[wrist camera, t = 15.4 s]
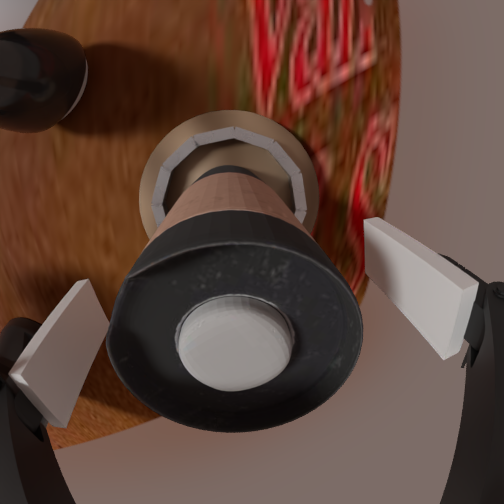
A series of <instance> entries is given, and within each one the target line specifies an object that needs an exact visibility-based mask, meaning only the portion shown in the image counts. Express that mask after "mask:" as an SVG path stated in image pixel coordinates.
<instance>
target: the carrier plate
mask: <svg viewBox="0 0 504 504" xmlns="http://www.w3.org/2000/svg"><path fill="white" fill-rule="evenodd" d="M223 165H234V166H239V167H242V168H245V169H247V170H249V171H250V172H252V173H253V174H255V175H256V176H257V177H258V178H260V179H261V180H262V181H263V182H265V183H266V184H267V185H268V186H269V187H270V188H272V189H273V190H274V191H275V192H276V194H277V195H278V196H279V197H280V198H281V199H282V201H283V202H284V203H285V204H286V205H287V207H288V208H289V209H290V210H291V211H292V213H293V214H294V215H295V216H296V218H297V219H298V220H299V221H300V222H301V224H302V225H303V226H304V227H305V229H306V230H307V231H308V232H309V234H311V232H312V230H313V227H314V224H315V221H316V218H317V213H318V207H319V186H318V181H317V176H316V172H315V169H314V167H313V164H312V162H311V160H310V158H309V156H308V154H307V152H306V151H305V149H304V148H303V146H302V145H301V144H300V142H299V141H298V140H297V139H296V138H295V137H294V136H293V135H292V134H291V133H290V132H289V131H287V130H286V129H285V128H284V127H283V126H281V125H279V124H278V123H276V122H274V121H273V120H271V119H268V118H266V117H264V116H261V115H258V114H255V113H251V112H247V111H239V110H221V111H214V112H209V113H205V114H202V115H198V116H196V117H194V118H191V119H189V120H187V121H185V122H184V123H182V124H180V125H179V126H177V127H176V128H174V129H173V130H172V131H171V132H170V133H169V134H167V135H166V136H165V137H164V138H163V140H162V141H161V142H160V143H159V144H158V145H157V147H156V148H155V150H154V151H153V153H152V154H151V156H150V158H149V160H148V162H147V164H146V166H145V169H144V172H143V175H142V178H141V184H140V191H139V205H140V214H141V218H142V222H143V225H144V228H145V231H146V233H147V235H148V237H149V239H151V238H152V236H153V235H154V233H155V232H156V230H157V229H158V227H159V226H160V224H161V223H162V221H163V220H164V219H165V217H166V216H167V214H168V213H169V211H170V210H171V209H172V207H173V206H174V204H175V203H176V202H177V200H178V199H179V197H180V196H181V195H182V194H183V192H184V191H185V190H186V189H187V188H189V187H190V186H191V185H192V184H193V183H194V182H195V181H196V180H197V179H198V178H199V177H200V176H201V175H202V174H204V173H205V172H207V171H208V170H210V169H212V168H215V167H218V166H223Z"/></svg>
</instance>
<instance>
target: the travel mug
mask: <svg viewBox="0 0 504 504" xmlns="http://www.w3.org/2000/svg"><path fill="white" fill-rule="evenodd" d="M362 341H363V323H362V315H361V311H360V308H359V305H358V302H357V299H356V297H355V295H354V294H353V292H352V290H351V288H350V286H349V284H348V283H347V281H346V280H345V279H344V277H343V276H342V275H341V273H340V272H339V271H338V269H337V268H336V267H335V265H334V264H333V263H332V262H331V260H330V259H329V258H328V256H327V255H326V254H325V253H324V251H323V250H322V249H321V247H320V246H319V245H318V244H317V242H316V241H315V240H314V239H313V237H312V236H311V235H310V234H309V232H308V231H307V230H306V229H305V227H304V226H303V225H302V224H301V222H300V221H299V220H298V219H297V218H296V216H295V215H294V214H293V213H292V211H291V210H290V209H289V208H288V207H287V205H286V204H285V203H284V202H283V201H282V199H281V198H280V197H279V196H278V195H277V194H276V192H275V191H274V190H273V189H272V188H270V187H269V186H268V185H267V184H266V183H265V182H263V181H262V180H261V179H260V178H258V177H257V176H256V175H255V174H253V173H252V172H250V171H249V170H247V169H245V168H242V167H239V166H234V165H223V166H218V167H215V168H212V169H210V170H208V171H207V172H205V173H204V174H202V175H201V176H200V177H199V178H198V179H197V180H196V181H195V182H194V183H193V184H192V185H191V186H190V187H189V188H187V189H186V190H185V191H184V192H183V194H182V195H181V196H180V197H179V199H178V200H177V202H176V203H175V204H174V206H173V207H172V209H171V210H170V211H169V213H168V214H167V216H166V217H165V219H164V220H163V221H162V223H161V224H160V226H159V227H158V229H157V230H156V232H155V233H154V235H153V236H152V238H151V239H150V241H149V242H148V244H147V245H146V247H145V248H144V250H143V252H142V253H141V255H140V256H139V258H138V259H137V261H136V262H135V264H134V266H133V267H132V269H131V271H130V272H129V273H128V274H127V276H126V277H125V279H124V282H123V284H122V285H121V288H120V290H119V292H118V295H117V297H116V300H115V304H114V308H113V311H112V316H111V320H110V324H109V327H108V331H107V336H106V348H107V352H108V356H109V358H110V361H111V363H112V366H113V368H114V370H115V371H116V373H117V375H118V377H119V378H120V380H121V381H122V383H123V384H124V385H125V387H126V388H127V389H128V390H129V391H130V392H131V393H132V394H133V395H134V396H135V397H136V398H137V399H138V400H139V401H140V402H142V403H143V404H144V405H145V406H147V407H148V408H150V409H151V410H153V411H154V412H156V413H158V414H160V415H161V416H163V417H165V418H167V419H170V420H172V421H174V422H177V423H179V424H183V425H186V426H189V427H193V428H197V429H202V430H207V431H213V432H226V433H229V432H230V433H232V432H233V433H235V432H251V431H258V430H264V429H268V428H272V427H276V426H279V425H283V424H285V423H288V422H291V421H293V420H296V419H298V418H300V417H302V416H304V415H306V414H308V413H309V412H311V411H313V410H315V409H316V408H317V407H319V406H320V405H322V404H323V403H325V402H326V401H327V400H328V399H329V398H330V397H332V396H333V395H334V394H335V393H336V392H337V390H338V389H340V387H341V386H342V385H343V384H344V383H345V381H346V380H347V378H348V377H349V376H350V374H351V372H352V371H353V369H354V367H355V365H356V363H357V360H358V357H359V355H360V351H361V346H362Z"/></svg>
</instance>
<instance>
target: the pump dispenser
mask: <svg viewBox="0 0 504 504" xmlns="http://www.w3.org/2000/svg"><path fill="white" fill-rule="evenodd" d="M87 77H88V65H87V60H86V57H85V52H84V49H83V47H82V45H81V44H80V43H79V41H78V40H76V39H75V38H74V37H72V36H70V35H68V34H66V33H63V32H59V31H54V30H49V29H41V28H21V29H12V30H6V31H2V32H0V128H1V129H4V130H9V131H14V132H20V133H38V132H42V131H45V130H47V129H49V128H51V127H52V126H54V125H55V124H57V123H58V122H59V121H60V120H62V119H63V118H64V117H66V116H67V115H68V114H69V113H70V112H71V111H72V110H73V108H74V107H75V106H76V104H77V103H78V101H79V100H80V98H81V96H82V94H83V92H84V89H85V86H86V83H87Z"/></svg>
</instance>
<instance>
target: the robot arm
mask: <svg viewBox="0 0 504 504" xmlns="http://www.w3.org/2000/svg"><path fill="white" fill-rule="evenodd" d="M364 239H365V273H366V274H367V275H368V276H369V277H370V279H371V280H372V281H373V282H374V283H375V284H376V285H377V286H378V287H379V288H380V289H381V290H382V291H383V292H384V293H385V294H386V295H387V296H388V298H389V299H390V300H391V301H392V302H393V303H394V304H395V305H396V306H397V307H398V308H399V310H400V311H401V312H402V313H403V314H404V315H405V316H406V317H407V318H408V320H409V321H410V322H411V323H412V324H413V325H414V326H415V327H416V329H417V330H418V331H419V332H420V333H421V334H422V335H423V337H424V338H425V339H426V340H427V341H428V342H429V344H430V345H431V346H432V347H433V348H434V350H435V351H436V352H437V353H438V354H439V356H440V357H441V358H442V359H443V360H445V359H447V358H449V357H451V356H453V355H454V354H456V353H458V352H459V351H460V348H461V345H462V342H463V340H464V339H465V340H466V341H467V342H468V343H469V347H468V350H467V353H466V355H465V358H464V360H463V363H462V366H461V368H464V366H465V364H466V363H467V366H466V367H467V368H466V383H465V394H464V402H463V410H462V417H461V423H460V429H459V434H458V440H457V445H456V450H455V454H454V458H453V462H452V466H451V470H450V473H449V477H448V480H447V484H446V487H445V490H444V493H443V496H442V499H441V502H440V504H504V283H503V282H492V283H489V284H487V283H486V282H484V281H483V280H481V279H480V278H479V277H477V276H476V275H475V274H473V273H472V272H470V271H469V270H467V269H465V267H463V266H462V265H460V264H459V265H458V263H457V262H456V261H454V260H453V259H451V258H450V257H447V256H444V255H441V254H437V253H436V252H434V251H433V250H431V249H430V248H428V247H426V246H425V245H423V244H422V243H420V242H419V241H417V240H415V239H414V238H412V237H411V236H409V235H407V234H406V233H404V232H402V231H401V230H399V229H397V228H396V227H394V226H392V225H391V224H389V223H387V222H386V221H384V220H382V219H381V218H379V217H375V218H370V219H365V220H364ZM109 324H110V323H109V321H108V319H107V317H106V315H105V313H104V311H103V309H102V307H101V305H100V303H99V301H98V299H97V296H96V294H95V292H94V290H93V287H92V285H91V283H90V281H89V279H85V280H81V281H77V282H76V283H75V284H74V285H73V287H72V288H71V289H70V290H69V291H68V293H67V294H66V295H65V296H64V298H63V299H62V300H61V301H60V302H59V304H58V305H57V306H56V307H55V309H54V310H53V311H52V313H51V314H50V315H49V316H48V318H47V319H46V320H45V322H44V323H43V324H42V326H41V325H40V324H38V323H36V322H34V321H32V320H29V319H26V318H14V319H12V320H10V321H9V322H8V323H7V325H6V326H5V327H4V328H3V330H2V331H1V334H0V504H76V503H75V501H74V499H73V497H72V495H71V493H70V491H69V489H68V486H67V484H66V482H65V480H64V477H63V475H62V473H61V470H60V467H59V465H58V462H57V460H56V458H55V454H54V451H53V449H52V446H51V443H50V440H49V436H48V433H47V430H46V426H47V424H48V422H49V423H50V424H51V425H52V426H55V427H61V428H66V427H67V424H68V422H69V419H70V416H71V414H72V411H73V409H74V406H75V403H76V401H77V398H78V396H79V393H80V391H81V389H82V386H83V384H84V382H85V379H86V377H87V375H88V372H89V370H90V368H91V365H92V363H93V361H94V359H95V357H96V354H97V352H98V350H99V348H100V346H101V344H102V342H103V339H104V337H105V335H106V333H107V331H108V327H109Z"/></svg>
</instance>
